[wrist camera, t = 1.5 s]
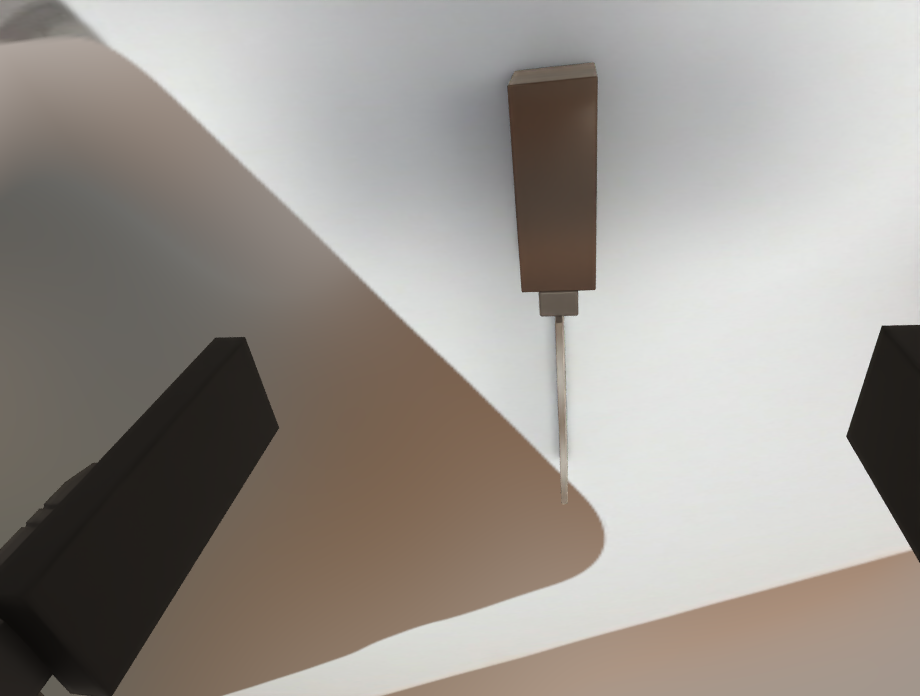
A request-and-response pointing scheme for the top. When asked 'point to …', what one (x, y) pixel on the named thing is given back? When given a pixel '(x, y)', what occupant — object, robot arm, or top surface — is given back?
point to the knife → (556, 197)
